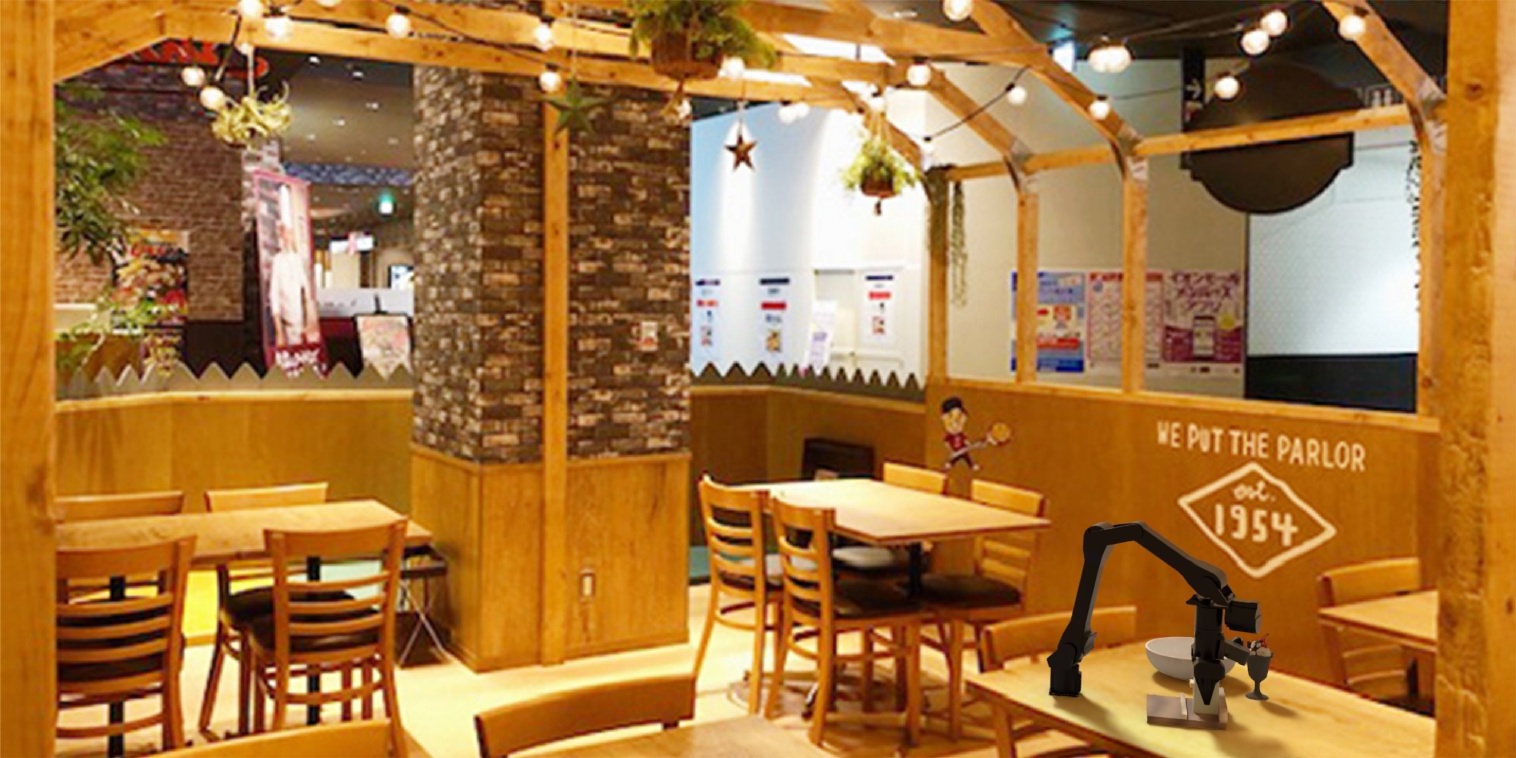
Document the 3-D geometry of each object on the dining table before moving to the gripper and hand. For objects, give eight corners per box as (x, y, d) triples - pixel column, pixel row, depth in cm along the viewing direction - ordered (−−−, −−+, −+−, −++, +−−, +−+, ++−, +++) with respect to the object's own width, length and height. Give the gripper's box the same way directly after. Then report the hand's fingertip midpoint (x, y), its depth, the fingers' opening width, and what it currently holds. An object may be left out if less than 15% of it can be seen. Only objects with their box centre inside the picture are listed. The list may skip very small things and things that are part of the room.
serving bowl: (1161, 659, 340) (1162, 631, 339) (1247, 674, 327) (1249, 645, 327) (1131, 677, 323) (1132, 649, 322) (1220, 694, 311) (1221, 664, 310)
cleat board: (1146, 722, 289) (1147, 701, 289) (1146, 700, 305) (1147, 680, 304) (1226, 730, 285) (1227, 709, 285) (1222, 707, 300) (1223, 687, 300)
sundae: (1275, 702, 305) (1278, 636, 304) (1243, 700, 306) (1246, 634, 305) (1270, 693, 311) (1273, 628, 310) (1239, 691, 313) (1241, 626, 312)
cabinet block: (1189, 711, 292) (1190, 675, 292) (1188, 705, 297) (1189, 668, 296) (1218, 714, 291) (1219, 677, 290) (1216, 707, 295) (1218, 671, 295)
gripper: (1252, 641, 281) (1249, 715, 282) (1245, 619, 299) (1242, 690, 300) (1195, 636, 284) (1192, 710, 285) (1192, 615, 302) (1189, 685, 303)
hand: (1205, 698), depth 293 cm, fingers open, 9 cm apart
